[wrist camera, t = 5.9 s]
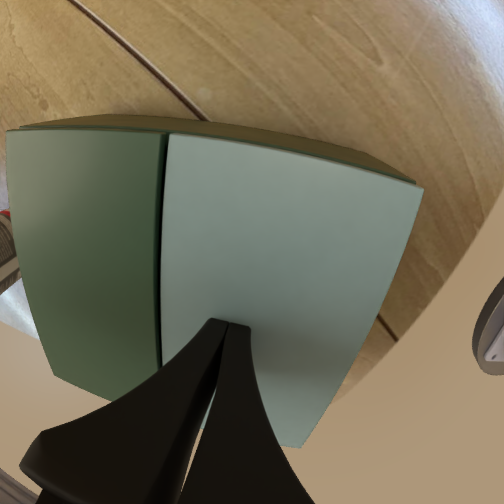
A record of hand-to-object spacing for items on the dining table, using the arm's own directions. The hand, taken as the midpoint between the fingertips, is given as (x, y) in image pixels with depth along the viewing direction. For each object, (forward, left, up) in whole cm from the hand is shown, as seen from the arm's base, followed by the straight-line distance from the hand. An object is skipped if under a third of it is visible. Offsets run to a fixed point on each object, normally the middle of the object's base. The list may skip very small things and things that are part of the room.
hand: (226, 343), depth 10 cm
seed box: (+2, 0, -7) cm, 8 cm away
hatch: (-1, 0, 0) cm, 1 cm away
